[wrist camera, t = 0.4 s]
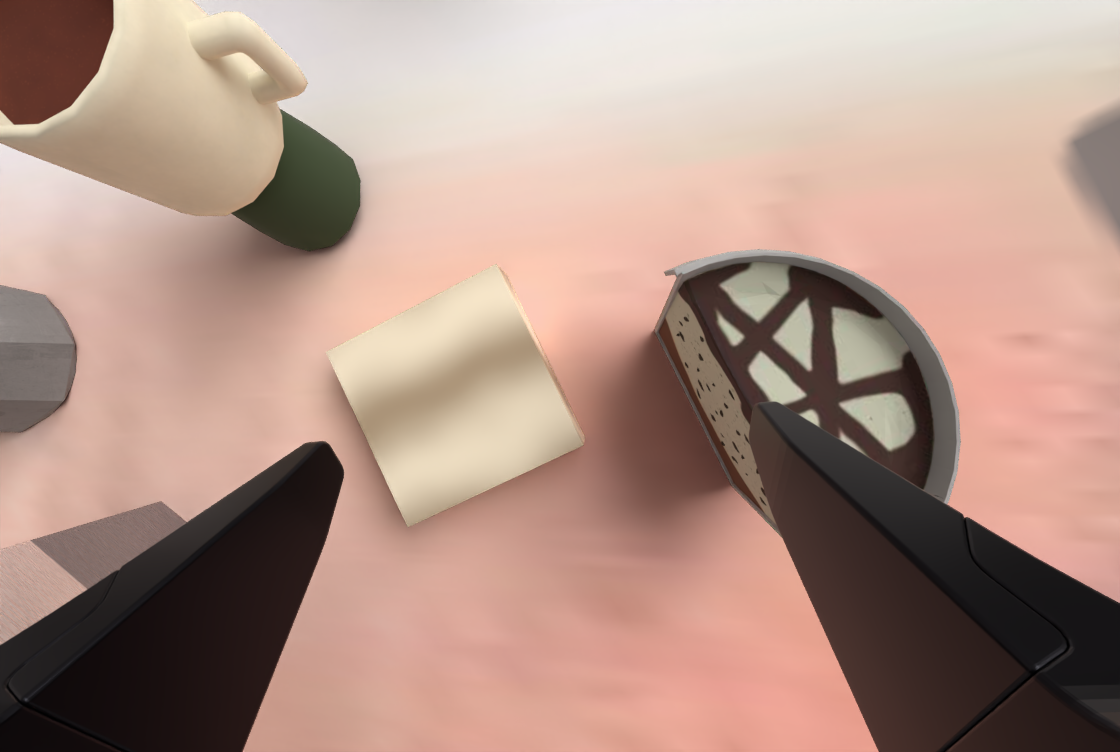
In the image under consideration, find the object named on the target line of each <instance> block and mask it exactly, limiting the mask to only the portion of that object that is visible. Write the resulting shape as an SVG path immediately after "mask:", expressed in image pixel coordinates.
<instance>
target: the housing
mask: <svg viewBox="0 0 1120 752" xmlns="http://www.w3.org/2000/svg"><path fill="white" fill-rule="evenodd" d="M185 523H187V522H186V521H184V520H183V519H182V518H181V517H180V516H178V515H177V514H176V513H175V512H173V511H172V510H171V509H170V508H169V507H167V506H166V505H165V504H164V503H162V502H157V503H154V504H151V505H147V506H144V507H141V508H137V509H134V510H131V511H127V512H124V513H121V514H117V515H114V516H111V517H107V518H104V519H100V520H97V521H94V522H90V523H87V524H84V525H80V526H77V527H74V528H70V529H67V530H64V531H60V532H57V533H54V534H50V535H47V536H44V537H40V538H37V539H33V540H30V541H27V542H23V543H20V544H17V545H13V546H10V547H7V548H3V549H0V645H1V644H2V643H4V642H6V641H7V640H9V639H10V638H12V637H14V636H15V635H17V634H18V633H20V632H22V631H23V630H25V629H26V628H28V627H30V626H31V625H33V624H34V623H36V622H37V621H39V620H41V619H42V618H44V617H45V616H47V615H49V614H50V613H52V612H53V611H55V610H56V609H58V608H59V607H61V606H63V605H64V604H66V603H67V602H69V601H70V600H72V599H73V598H75V597H76V596H78V595H79V594H81V593H82V592H84V591H85V590H87V589H88V588H90V587H91V586H93V585H94V584H96V583H97V582H99V581H100V580H102V579H103V578H105V577H106V576H108V575H109V574H111V573H112V572H114V571H115V570H120V568H121V567H122V566H123V565H124V564H126V563H127V562H129V561H130V560H132V559H133V558H135V557H136V556H138V555H139V554H141V553H142V552H144V551H145V550H147V549H148V548H150V547H151V546H153V545H154V544H156V543H157V542H159V541H160V540H162V539H163V538H165V537H166V536H168V535H169V534H171V533H172V532H174V531H175V530H177V529H178V528H180V527H181V526H182V525H184V524H185Z"/></svg>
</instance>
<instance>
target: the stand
mask: <svg viewBox="0 0 1120 752" xmlns="http://www.w3.org/2000/svg"><path fill="white" fill-rule="evenodd" d="M326 353H327V356H328V358H329V360H330V362H331V364H332V366H333V368H334V371H335V373H336V375H337V377H338V379H339V381H340V383H341V386H342V388H343V390H344V392H345V394H346V396H347V398H348V401H349V403H350V405H351V407H352V409H353V411H354V413H355V416H356V418H357V420H358V422H359V424H360V426H361V428H362V431H363V433H364V435H365V437H366V439H367V441H368V443H369V446H370V448H371V450H372V452H373V454H374V456H375V458H376V461H377V463H378V465H379V467H380V469H381V471H382V473H383V476H384V478H385V480H386V482H387V484H388V486H389V488H390V491H391V493H392V495H393V497H394V499H395V501H396V503H397V506H398V508H399V510H400V512H401V514H402V516H403V518H404V521H405V523H406V525H407V527H410V526H412V525H414V524H416V523H419V522H421V521H423V520H425V519H427V518H429V517H431V516H434V515H436V514H438V513H440V512H442V511H444V510H446V509H448V508H451V507H453V506H455V505H457V504H459V503H461V502H463V501H466V500H468V499H470V498H472V497H474V496H476V495H478V494H481V493H483V492H485V491H487V490H489V489H491V488H493V487H496V486H498V485H500V484H502V483H504V482H506V481H508V480H511V479H513V478H515V477H517V476H519V475H521V474H523V473H525V472H528V471H530V470H532V469H534V468H536V467H538V466H540V465H543V464H545V463H547V462H549V461H551V460H553V459H555V458H558V457H560V456H562V455H564V454H566V453H568V452H570V451H573V450H575V449H577V448H579V447H581V446H583V445H584V441H585V436H584V434H583V432H582V430H581V428H580V426H579V424H578V422H577V419H576V417H575V415H574V413H573V411H572V409H571V407H570V405H569V403H568V401H567V399H566V397H565V395H564V393H563V390H562V388H561V386H560V384H559V382H558V380H557V378H556V376H555V374H554V372H553V370H552V368H551V366H550V364H549V361H548V359H547V357H546V355H545V353H544V351H543V349H542V347H541V345H540V343H539V341H538V339H537V337H536V334H535V332H534V330H533V328H532V326H531V324H530V322H529V320H528V318H527V316H526V314H525V312H524V310H523V308H522V305H521V303H520V301H519V299H518V297H517V295H516V293H515V291H514V289H513V287H512V285H511V283H510V281H509V279H508V276H507V275H506V274H505V273H504V272H503V271H502V270H501V268H500V267H499V266H498V265H497V264H495V265H493V266H491V267H489V268H487V269H485V270H483V271H482V272H480V273H478V274H476V275H474V276H472V277H470V278H468V279H466V280H464V281H462V282H460V283H458V284H456V285H455V286H453V287H451V288H449V289H447V290H445V291H443V292H441V293H439V294H437V295H435V296H433V297H431V298H429V299H428V300H426V301H424V302H422V303H420V304H418V305H416V306H414V307H412V308H410V309H408V310H406V311H404V312H402V313H401V314H399V315H397V316H395V317H393V318H391V319H389V320H387V321H385V322H383V323H381V324H379V325H377V326H375V327H374V328H372V329H370V330H368V331H366V332H364V333H362V334H360V335H358V336H356V337H354V338H352V339H350V340H348V341H347V342H345V343H343V344H341V345H339V346H337V347H335V348H333V349H331V350H329V351H327V352H326Z"/></svg>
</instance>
